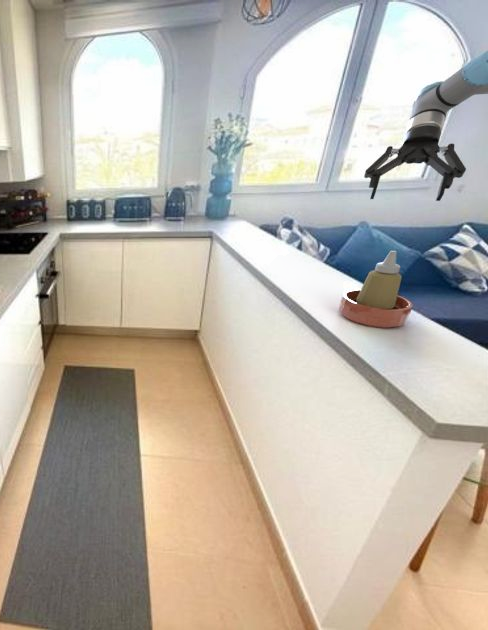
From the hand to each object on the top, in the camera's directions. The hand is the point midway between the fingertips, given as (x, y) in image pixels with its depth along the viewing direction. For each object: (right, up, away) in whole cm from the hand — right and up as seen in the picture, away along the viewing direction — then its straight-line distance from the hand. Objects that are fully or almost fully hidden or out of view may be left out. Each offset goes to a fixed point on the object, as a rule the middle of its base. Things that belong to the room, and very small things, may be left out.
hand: (404, 197), depth 94 cm
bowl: (-8, -33, +1) cm, 34 cm away
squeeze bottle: (-8, -33, +1) cm, 34 cm away
